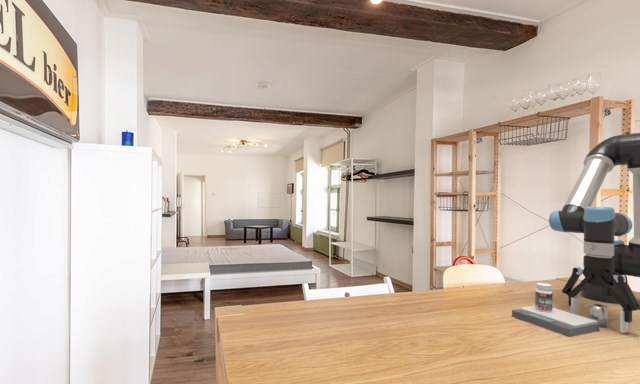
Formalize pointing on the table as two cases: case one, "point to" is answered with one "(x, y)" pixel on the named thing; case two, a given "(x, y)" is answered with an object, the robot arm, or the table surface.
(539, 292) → the pill bottle
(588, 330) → the kitchen scale
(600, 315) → the cylinder
